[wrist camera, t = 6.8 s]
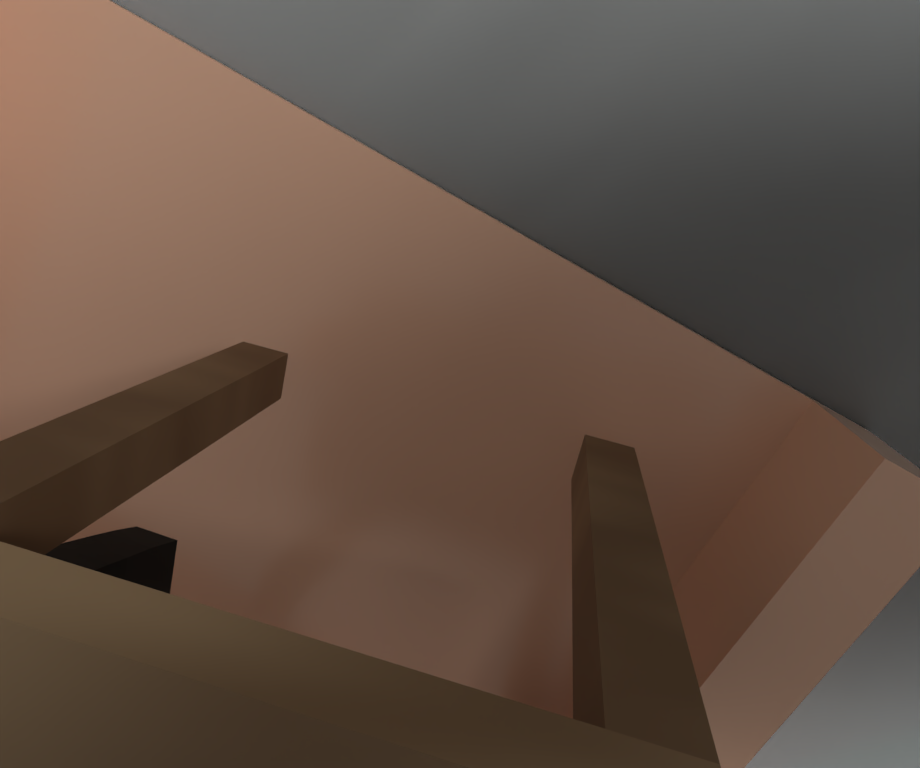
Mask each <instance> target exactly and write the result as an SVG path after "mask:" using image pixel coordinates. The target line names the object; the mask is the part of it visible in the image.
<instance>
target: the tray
mask: <svg viewBox="0 0 920 768" xmlns="http://www.w3.org/2000/svg"><path fill="white" fill-rule="evenodd" d="M243 341H244V342H247V343H251V344H255V345H258V346H262V347H266V348H269V349H273V350H277V351H280V352H284V353H288V359H287V365H286V371H285V377H284V383H283V389H282V395H281V399H279V400H278V401H276V402H275V403H273V404H272V405H270V406H269V407H267V408H266V409H264V410H263V411H261V412H260V413H258V414H257V415H255V416H254V417H252V418H251V419H249V420H248V421H246V422H245V423H243V424H242V425H240V426H239V427H237V428H236V429H234V430H232V431H231V432H229V433H228V434H226V435H225V436H223V437H222V438H220V439H219V440H217V441H216V442H214V443H213V444H211V445H210V446H208V447H207V448H205V449H204V450H202V451H201V452H199V453H198V454H196V455H195V456H193V457H192V458H190V459H189V460H187V461H186V462H184V463H183V464H181V465H180V466H178V467H177V468H175V469H174V470H172V471H171V472H169V473H168V474H166V475H164V476H163V477H161V478H160V479H158V480H157V481H155V482H154V483H152V484H151V485H149V486H148V487H146V488H145V489H143V490H142V491H140V492H139V493H137V494H136V495H134V496H133V497H131V498H130V499H128V500H127V501H125V502H124V503H122V504H121V505H119V506H118V507H116V508H115V509H113V510H112V511H110V512H109V513H107V514H106V515H104V516H103V517H101V518H100V519H98V520H96V521H95V522H93V523H92V524H90V525H89V526H87V527H86V528H84V529H83V530H81V531H80V532H78V533H77V534H75V535H74V536H72V537H71V538H69V539H68V540H66V541H65V542H69V541H73V540H77V539H81V538H85V537H89V536H93V535H97V534H101V533H105V532H110V531H114V530H119V529H124V528H130V527H136V526H137V527H140V528H143V529H146V530H149V531H152V532H155V533H158V534H161V535H164V536H167V537H170V538H172V539H175V540H177V547H176V554H175V562H174V569H173V576H172V583H171V590H170V594H172V595H175V596H178V597H181V598H185V599H188V600H191V601H194V602H197V603H201V604H204V605H207V606H210V607H214V608H217V609H220V610H223V611H226V612H230V613H233V614H236V615H239V616H243V617H246V618H249V619H252V620H256V621H259V622H262V623H265V624H268V625H272V626H275V627H278V628H281V629H285V630H288V631H291V632H294V633H297V634H301V635H304V636H307V637H310V638H314V639H317V640H320V641H323V642H327V643H330V644H333V645H336V646H339V647H343V648H346V649H349V650H352V651H356V652H359V653H362V654H365V655H369V656H372V657H375V658H378V659H381V660H385V661H388V662H391V663H394V664H398V665H401V666H404V667H407V668H410V669H414V670H417V671H420V672H423V673H427V674H430V675H433V676H436V677H440V678H443V679H446V680H449V681H452V682H456V683H459V684H462V685H465V686H469V687H472V688H475V689H478V690H481V691H485V692H488V693H491V694H494V695H498V696H501V697H504V698H507V699H511V700H514V701H517V702H520V703H523V704H527V705H530V706H533V707H536V708H540V709H543V710H546V711H549V712H553V713H556V714H559V715H562V716H565V717H569V718H572V719H573V644H572V503H571V479H572V475H573V472H574V469H575V466H576V462H577V459H578V456H579V452H580V449H581V446H582V443H583V439H584V436H585V434H586V435H589V436H593V437H597V438H600V439H604V440H608V441H611V442H615V443H619V444H622V445H626V446H630V447H633V448H635V452H636V455H637V459H638V463H639V467H640V470H641V474H642V478H643V481H644V485H645V489H646V492H647V496H648V500H649V503H650V507H651V511H652V515H653V518H654V522H655V526H656V529H657V533H658V537H659V540H660V544H661V548H662V552H663V555H664V559H665V563H666V566H667V570H668V574H669V577H670V581H671V585H672V588H673V592H674V596H675V600H676V603H677V607H678V611H679V614H680V618H681V622H682V625H683V629H684V633H685V637H686V640H687V644H688V648H689V651H690V655H691V659H692V662H693V666H694V670H695V673H696V677H697V681H698V685H699V688H700V692H701V696H702V699H703V703H704V707H705V710H706V714H707V718H708V722H709V725H710V729H711V733H712V736H713V740H714V744H715V747H716V751H717V755H718V758H719V762H720V766H721V768H744V767H745V766H746V765H747V764H748V763H749V762H750V760H751V759H752V758H753V757H754V756H755V755H756V754H757V752H758V751H759V750H760V749H761V748H762V747H763V746H764V744H765V743H766V742H767V741H768V740H769V739H770V738H771V736H772V735H773V734H774V733H775V732H776V731H777V730H778V728H779V727H780V726H781V725H782V724H783V723H784V722H785V720H786V719H787V718H788V717H789V716H790V715H791V714H792V712H793V711H794V710H795V709H796V708H797V707H798V706H799V704H800V703H801V702H802V701H803V700H804V699H805V698H806V696H807V695H808V694H809V693H810V692H811V691H812V690H813V688H814V687H815V686H816V685H817V684H818V683H819V682H820V680H821V679H822V678H823V677H824V676H825V675H826V674H827V672H828V671H829V670H830V669H831V668H832V667H833V666H834V664H835V663H836V662H837V661H838V660H839V659H840V658H841V656H842V655H843V654H844V653H845V652H846V651H847V650H848V648H849V647H850V646H851V645H852V644H853V643H854V642H855V640H856V639H857V638H858V637H859V636H860V635H861V634H862V632H863V631H864V630H865V629H866V628H867V627H868V626H869V624H870V623H871V622H872V621H873V620H874V619H875V618H876V616H877V615H878V614H879V613H880V612H881V611H882V610H883V608H884V607H885V606H886V605H887V604H888V603H889V602H890V600H891V599H892V598H893V597H894V596H895V595H896V594H897V592H898V591H899V590H900V589H901V588H902V587H903V586H904V584H905V583H906V582H907V581H908V580H909V579H910V578H911V576H912V575H913V574H914V573H915V572H916V571H917V570H918V568H919V567H920V469H919V468H918V467H917V466H915V465H914V464H913V463H911V462H910V461H909V460H907V459H906V458H905V457H903V456H902V455H901V454H899V453H898V452H897V451H895V450H894V449H893V448H891V447H890V446H889V445H887V444H886V443H885V442H883V441H882V440H881V439H879V438H878V437H877V436H875V435H874V434H873V433H871V432H870V431H868V430H866V429H865V428H863V427H861V426H859V425H858V424H856V423H854V422H852V421H851V420H849V419H847V418H845V417H844V416H842V415H840V414H838V413H836V412H835V411H833V410H831V409H829V408H828V407H826V406H824V405H822V404H821V403H819V402H817V401H815V400H814V399H812V398H810V397H808V396H807V395H805V394H803V393H801V392H799V391H798V390H796V389H794V388H792V387H791V386H789V385H787V384H785V383H784V382H782V381H780V380H778V379H777V378H775V377H773V376H771V375H770V374H768V373H766V372H764V371H763V370H761V369H759V368H757V367H755V366H754V365H752V364H750V363H748V362H747V361H745V360H743V359H741V358H740V357H738V356H736V355H734V354H733V353H731V352H729V351H727V350H726V349H724V348H722V347H720V346H718V345H717V344H715V343H713V342H711V341H710V340H708V339H706V338H704V337H703V336H701V335H699V334H697V333H696V332H694V331H692V330H690V329H689V328H687V327H685V326H683V325H682V324H680V323H678V322H676V321H674V320H673V319H671V318H669V317H667V316H666V315H664V314H662V313H660V312H659V311H657V310H655V309H653V308H652V307H650V306H648V305H646V304H645V303H643V302H641V301H639V300H637V299H636V298H634V297H632V296H630V295H629V294H627V293H625V292H623V291H622V290H620V289H618V288H616V287H615V286H613V285H611V284H609V283H608V282H606V281H604V280H602V279H601V278H599V277H597V276H595V275H593V274H592V273H590V272H588V271H586V270H585V269H583V268H581V267H579V266H578V265H576V264H574V263H572V262H571V261H569V260H567V259H565V258H564V257H562V256H560V255H558V254H556V253H555V252H553V251H551V250H549V249H548V248H546V247H544V246H542V245H541V244H539V243H537V242H535V241H534V240H532V239H530V238H528V237H527V236H525V235H523V234H521V233H520V232H518V231H516V230H514V229H512V228H511V227H509V226H507V225H505V224H504V223H502V222H500V221H498V220H497V219H495V218H493V217H491V216H490V215H488V214H486V213H484V212H483V211H481V210H479V209H477V208H476V207H474V206H472V205H470V204H468V203H467V202H465V201H463V200H461V199H460V198H458V197H456V196H454V195H453V194H451V193H449V192H447V191H446V190H444V189H442V188H440V187H439V186H437V185H435V184H433V183H431V182H430V181H428V180H426V179H424V178H423V177H421V176H419V175H417V174H416V173H414V172H412V171H410V170H409V169H407V168H405V167H403V166H402V165H400V164H398V163H396V162H395V161H393V160H391V159H389V158H387V157H386V156H384V155H382V154H380V153H379V152H377V151H375V150H373V149H372V148H370V147H368V146H366V145H365V144H363V143H361V142H359V141H358V140H356V139H354V138H352V137H350V136H349V135H347V134H345V133H343V132H342V131H340V130H338V129H336V128H335V127H333V126H331V125H329V124H328V123H326V122H324V121H322V120H321V119H319V118H317V117H315V116H314V115H312V114H310V113H308V112H306V111H305V110H303V109H301V108H299V107H298V106H296V105H294V104H292V103H291V102H289V101H287V100H285V99H284V98H282V97H280V96H278V95H277V94H275V93H273V92H271V91H269V90H268V89H266V88H264V87H262V86H261V85H259V84H257V83H255V82H254V81H252V80H250V79H248V78H247V77H245V76H243V75H241V74H240V73H238V72H236V71H234V70H233V69H231V68H229V67H227V66H225V65H224V64H222V63H220V62H218V61H217V60H215V59H213V58H211V57H210V56H208V55H206V54H204V53H203V52H201V51H199V50H197V49H196V48H194V47H192V46H190V45H189V44H187V43H185V42H183V41H181V40H180V39H178V38H176V37H174V36H173V35H171V34H169V33H167V32H166V31H164V30H162V29H160V28H159V27H157V26H155V25H153V24H152V23H150V22H148V21H146V20H144V19H143V18H141V17H139V16H137V15H136V14H134V13H132V12H130V11H129V10H127V9H125V8H123V7H122V6H120V5H118V4H116V3H115V2H113V1H111V0H0V441H2V440H4V439H7V438H9V437H12V436H14V435H16V434H19V433H21V432H24V431H26V430H29V429H31V428H34V427H36V426H38V425H41V424H43V423H46V422H48V421H51V420H53V419H55V418H58V417H60V416H63V415H65V414H68V413H70V412H73V411H75V410H77V409H80V408H82V407H85V406H87V405H90V404H92V403H94V402H97V401H99V400H102V399H104V398H107V397H109V396H111V395H114V394H116V393H119V392H121V391H124V390H126V389H129V388H131V387H133V386H136V385H138V384H141V383H143V382H146V381H148V380H150V379H153V378H155V377H158V376H160V375H163V374H165V373H168V372H170V371H172V370H175V369H177V368H180V367H182V366H185V365H187V364H189V363H192V362H194V361H197V360H199V359H202V358H204V357H207V356H209V355H211V354H214V353H216V352H219V351H221V350H224V349H226V348H228V347H231V346H233V345H236V344H238V343H241V342H243ZM65 542H63V543H65Z"/></svg>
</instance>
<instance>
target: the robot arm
mask: <svg viewBox="0 0 920 768" xmlns="http://www.w3.org/2000/svg"><path fill="white" fill-rule="evenodd" d="M176 547H177V540H175V539H172V538H170V537H167V536H164V535H161V534H158V533H155V532H152V531H149V530H146V529H143V528H140V527H137V526H136V527H130V528H124V529H119V530H114V531H110V532H105V533H101V534H97V535H93V536H89V537H85V538H81V539H77V540H73V541H69V542H65V543H62V544H60V545H59V546H57V547H56V548H54V549H53V550H51V551H50V552H48V553H47V554H45V555H46V556H49V557H52V558H55V559H59V560H62V561H65V562H68V563H72V564H75V565H78V566H81V567H84V568H88V569H91V570H94V571H97V572H101V573H104V574H107V575H110V576H113V577H117V578H120V579H123V580H126V581H130V582H133V583H136V584H139V585H143V586H146V587H149V588H152V589H155V590H159V591H162V592H165V593H168V594H170V590H171V583H172V576H173V569H174V562H175V554H176Z"/></svg>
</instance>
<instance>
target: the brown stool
mask: <svg viewBox="0 0 920 768" xmlns="http://www.w3.org/2000/svg"><path fill="white" fill-rule="evenodd" d="M287 359H288V353H284V352H280V351H277V350H273V349H269V348H266V347H262V346H258V345H255V344H251V343H247V342H244V341H243V342H241V343H238V344H236V345H233V346H231V347H228V348H226V349H224V350H221V351H219V352H216V353H214V354H211V355H209V356H207V357H204V358H202V359H199V360H197V361H194V362H192V363H189V364H187V365H185V366H182V367H180V368H177V369H175V370H172V371H170V372H168V373H165V374H163V375H160V376H158V377H155V378H153V379H150V380H148V381H146V382H143V383H141V384H138V385H136V386H133V387H131V388H129V389H126V390H124V391H121V392H119V393H116V394H114V395H111V396H109V397H107V398H104V399H102V400H99V401H97V402H94V403H92V404H90V405H87V406H85V407H82V408H80V409H77V410H75V411H73V412H70V413H68V414H65V415H63V416H60V417H58V418H55V419H53V420H51V421H48V422H46V423H43V424H41V425H38V426H36V427H34V428H31V429H29V430H26V431H24V432H21V433H19V434H16V435H14V436H12V437H9V438H7V439H4V440H2V441H0V768H721V766H720V762H719V758H718V755H717V751H716V747H715V744H714V740H713V736H712V733H711V729H710V725H709V722H708V718H707V714H706V710H705V707H704V703H703V699H702V696H701V692H700V688H699V685H698V681H697V677H696V673H695V670H694V666H693V662H692V659H691V655H690V651H689V648H688V644H687V640H686V637H685V633H684V629H683V625H682V622H681V618H680V614H679V611H678V607H677V603H676V600H675V596H674V592H673V588H672V585H671V581H670V577H669V574H668V570H667V566H666V563H665V559H664V555H663V552H662V548H661V544H660V540H659V537H658V533H657V529H656V526H655V522H654V518H653V515H652V511H651V507H650V503H649V500H648V496H647V492H646V489H645V485H644V481H643V478H642V474H641V470H640V467H639V463H638V459H637V455H636V452H635V448H633V447H630V446H626V445H622V444H619V443H615V442H611V441H608V440H604V439H600V438H597V437H593V436H589V435H586V434H585V436H584V439H583V443H582V446H581V449H580V452H579V456H578V459H577V462H576V466H575V469H574V472H573V475H572V479H571V503H572V644H573V719H572V718H569V717H565V716H562V715H559V714H556V713H553V712H549V711H546V710H543V709H540V708H536V707H533V706H530V705H527V704H523V703H520V702H517V701H514V700H511V699H507V698H504V697H501V696H498V695H494V694H491V693H488V692H485V691H481V690H478V689H475V688H472V687H469V686H465V685H462V684H459V683H456V682H452V681H449V680H446V679H443V678H440V677H436V676H433V675H430V674H427V673H423V672H420V671H417V670H414V669H410V668H407V667H404V666H401V665H398V664H394V663H391V662H388V661H385V660H381V659H378V658H375V657H372V656H369V655H365V654H362V653H359V652H356V651H352V650H349V649H346V648H343V647H339V646H336V645H333V644H330V643H327V642H323V641H320V640H317V639H314V638H310V637H307V636H304V635H301V634H297V633H294V632H291V631H288V630H285V629H281V628H278V627H275V626H272V625H268V624H265V623H262V622H259V621H256V620H252V619H249V618H246V617H243V616H239V615H236V614H233V613H230V612H226V611H223V610H220V609H217V608H214V607H210V606H207V605H204V604H201V603H197V602H194V601H191V600H188V599H185V598H181V597H178V596H175V595H172V594H168V593H165V592H162V591H159V590H155V589H152V588H149V587H146V586H143V585H139V584H136V583H133V582H130V581H126V580H123V579H120V578H117V577H113V576H110V575H107V574H104V573H101V572H97V571H94V570H91V569H88V568H84V567H81V566H78V565H75V564H72V563H68V562H65V561H62V560H59V559H55V558H52V557H49V556H46V555H45V554H47V553H48V552H50V551H51V550H53V549H54V548H56V547H57V546H59V545H60V544H62V543H63V542H65V541H66V540H68V539H69V538H71V537H72V536H74V535H75V534H77V533H78V532H80V531H81V530H83V529H84V528H86V527H87V526H89V525H90V524H92V523H93V522H95V521H96V520H98V519H100V518H101V517H103V516H104V515H106V514H107V513H109V512H110V511H112V510H113V509H115V508H116V507H118V506H119V505H121V504H122V503H124V502H125V501H127V500H128V499H130V498H131V497H133V496H134V495H136V494H137V493H139V492H140V491H142V490H143V489H145V488H146V487H148V486H149V485H151V484H152V483H154V482H155V481H157V480H158V479H160V478H161V477H163V476H164V475H166V474H168V473H169V472H171V471H172V470H174V469H175V468H177V467H178V466H180V465H181V464H183V463H184V462H186V461H187V460H189V459H190V458H192V457H193V456H195V455H196V454H198V453H199V452H201V451H202V450H204V449H205V448H207V447H208V446H210V445H211V444H213V443H214V442H216V441H217V440H219V439H220V438H222V437H223V436H225V435H226V434H228V433H229V432H231V431H232V430H234V429H236V428H237V427H239V426H240V425H242V424H243V423H245V422H246V421H248V420H249V419H251V418H252V417H254V416H255V415H257V414H258V413H260V412H261V411H263V410H264V409H266V408H267V407H269V406H270V405H272V404H273V403H275V402H276V401H278V400H279V399H281V395H282V389H283V383H284V377H285V371H286V365H287Z"/></svg>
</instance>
